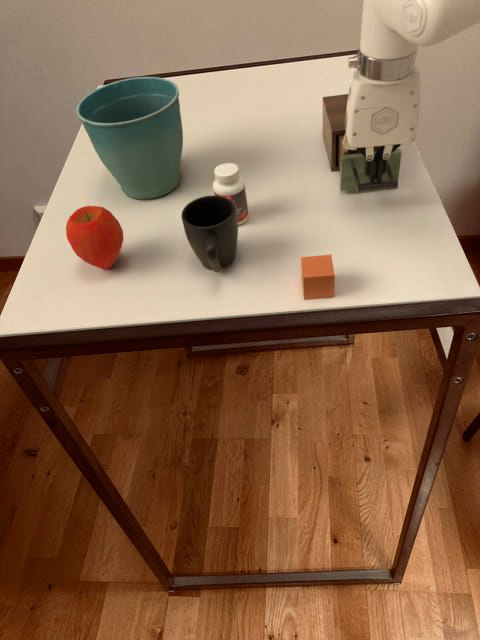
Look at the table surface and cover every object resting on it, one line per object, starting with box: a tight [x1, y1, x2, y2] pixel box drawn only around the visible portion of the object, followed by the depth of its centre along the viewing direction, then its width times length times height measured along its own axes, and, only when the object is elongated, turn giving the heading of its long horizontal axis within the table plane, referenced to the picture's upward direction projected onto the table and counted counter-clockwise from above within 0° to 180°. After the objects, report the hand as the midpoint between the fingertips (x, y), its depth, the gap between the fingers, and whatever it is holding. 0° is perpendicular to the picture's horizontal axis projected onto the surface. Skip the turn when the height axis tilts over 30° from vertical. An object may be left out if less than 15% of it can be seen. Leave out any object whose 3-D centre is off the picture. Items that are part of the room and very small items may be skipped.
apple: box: [65, 205, 124, 270], centre depth 81 cm, size 9×8×11 cm
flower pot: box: [75, 76, 184, 200], centre depth 94 cm, size 18×18×17 cm
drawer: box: [336, 134, 403, 194], centre depth 89 cm, size 19×10×6 cm, turn 1°
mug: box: [180, 194, 239, 273], centre depth 78 cm, size 8×12×10 cm
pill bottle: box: [212, 162, 250, 226], centre depth 86 cm, size 5×5×10 cm
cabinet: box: [322, 93, 349, 172], centre depth 97 cm, size 14×11×8 cm
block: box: [300, 254, 336, 300], centre depth 74 cm, size 4×4×4 cm
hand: (374, 177), depth 83 cm, fingers closed
